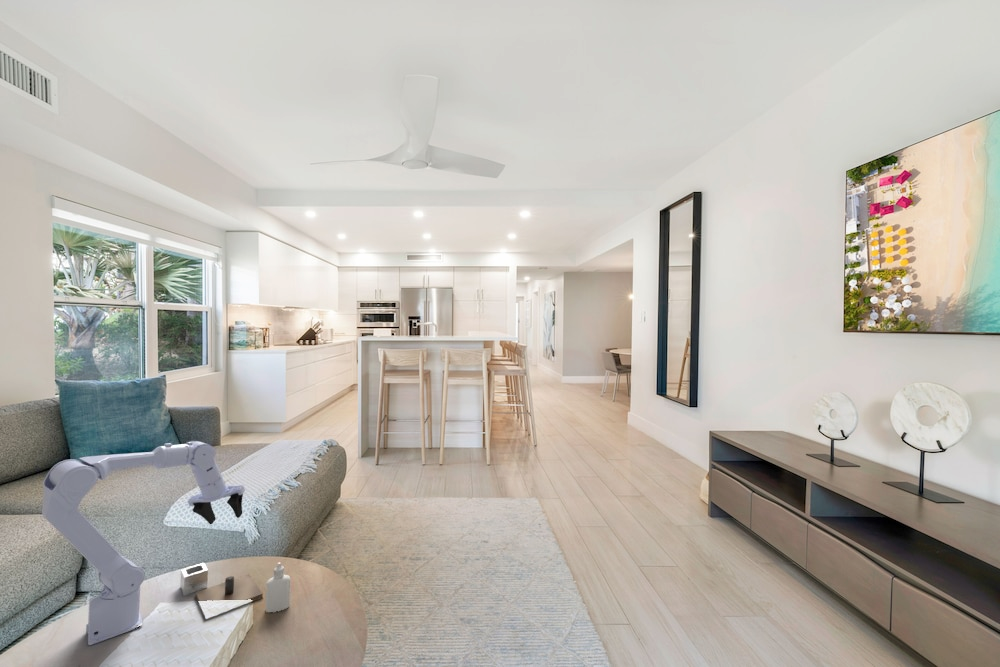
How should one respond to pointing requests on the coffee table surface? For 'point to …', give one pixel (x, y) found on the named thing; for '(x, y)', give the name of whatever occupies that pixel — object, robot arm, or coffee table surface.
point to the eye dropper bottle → (278, 590)
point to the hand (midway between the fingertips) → (226, 518)
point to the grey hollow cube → (194, 578)
